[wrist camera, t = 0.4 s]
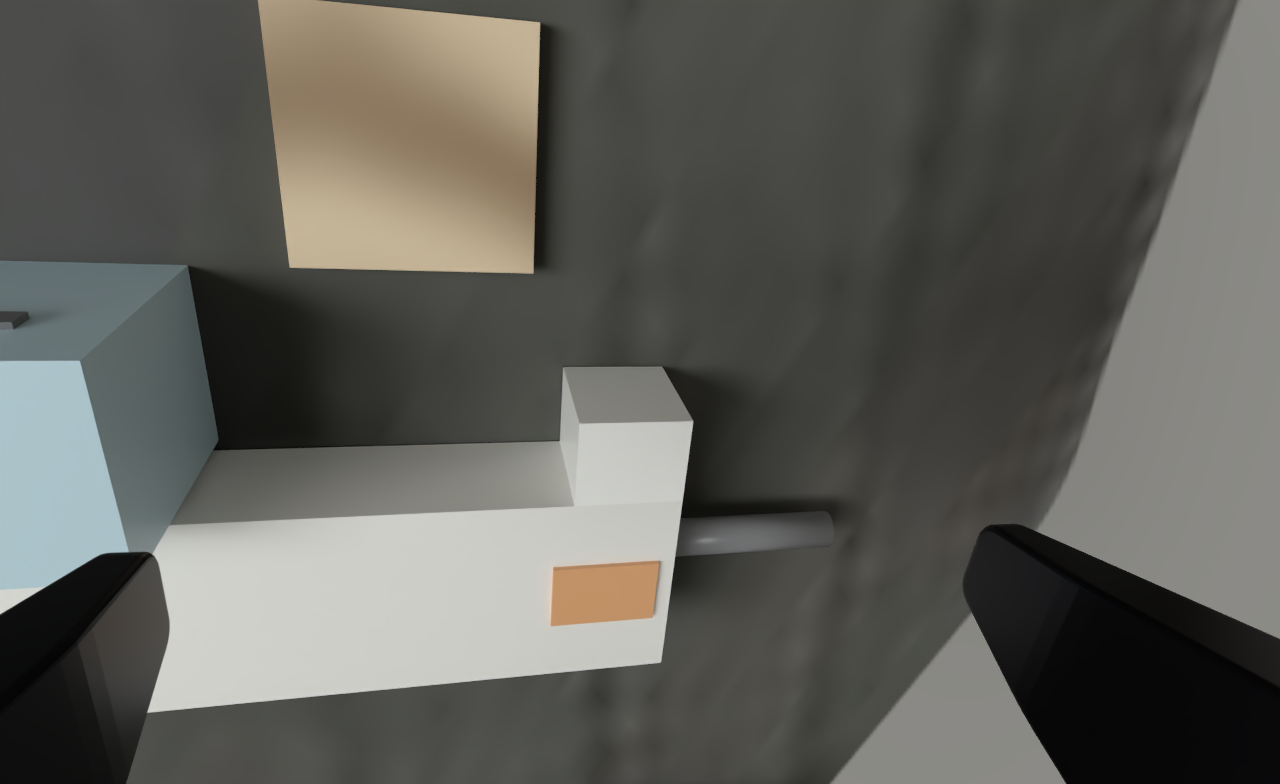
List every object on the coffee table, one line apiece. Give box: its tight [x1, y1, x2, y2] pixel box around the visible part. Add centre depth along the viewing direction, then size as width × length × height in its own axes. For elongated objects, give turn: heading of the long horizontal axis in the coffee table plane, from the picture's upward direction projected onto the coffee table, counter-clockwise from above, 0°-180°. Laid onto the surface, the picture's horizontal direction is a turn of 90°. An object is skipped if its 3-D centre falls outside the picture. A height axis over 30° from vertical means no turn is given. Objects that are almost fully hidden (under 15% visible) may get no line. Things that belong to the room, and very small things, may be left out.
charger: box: [0, 261, 219, 590], centre depth 17 cm, size 7×5×6 cm
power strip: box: [0, 367, 834, 713], centre depth 21 cm, size 8×25×4 cm, turn 85°
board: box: [258, 0, 540, 273], centre depth 18 cm, size 6×6×1 cm
